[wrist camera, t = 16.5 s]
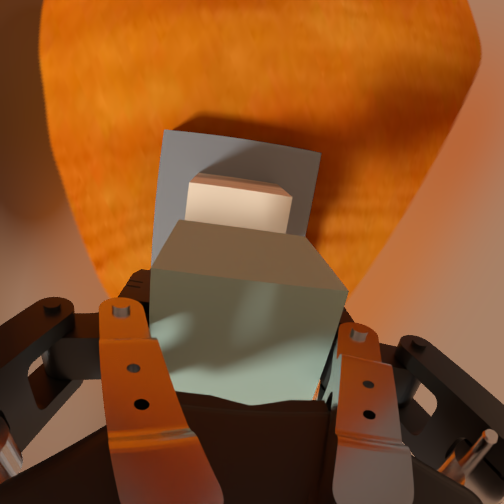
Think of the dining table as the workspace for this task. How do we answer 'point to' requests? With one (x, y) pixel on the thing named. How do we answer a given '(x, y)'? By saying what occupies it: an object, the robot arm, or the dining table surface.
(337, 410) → the robot arm
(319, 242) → the dining table surface
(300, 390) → the sage block
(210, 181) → the birch block
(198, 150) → the slate plinth
